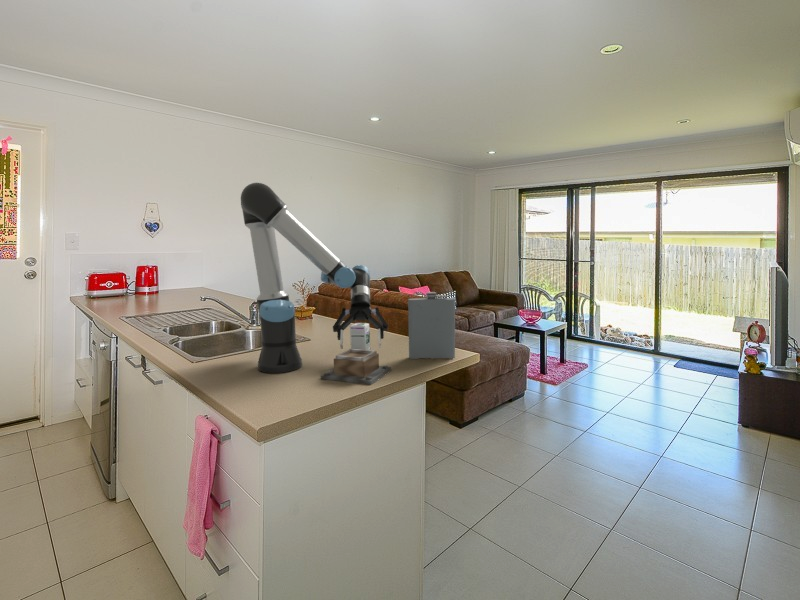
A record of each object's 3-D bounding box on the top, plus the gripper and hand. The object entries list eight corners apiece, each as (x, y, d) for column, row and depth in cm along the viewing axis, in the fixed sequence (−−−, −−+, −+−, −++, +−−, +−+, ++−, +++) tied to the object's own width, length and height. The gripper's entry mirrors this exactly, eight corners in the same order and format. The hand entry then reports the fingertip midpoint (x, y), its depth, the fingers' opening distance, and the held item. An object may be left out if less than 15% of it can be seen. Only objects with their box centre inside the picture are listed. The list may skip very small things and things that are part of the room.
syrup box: (366, 365, 152) (365, 325, 150) (350, 365, 153) (349, 325, 151) (371, 361, 158) (370, 322, 156) (355, 360, 159) (354, 322, 157)
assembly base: (320, 378, 137) (319, 357, 136) (344, 365, 152) (344, 346, 151) (371, 384, 131) (370, 361, 130) (391, 370, 146) (390, 349, 145)
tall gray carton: (454, 355, 164) (454, 291, 161) (455, 358, 160) (455, 292, 156) (409, 355, 165) (408, 291, 162) (408, 359, 160) (408, 293, 157)
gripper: (392, 304, 169) (395, 350, 156) (329, 306, 168) (326, 352, 155) (392, 292, 163) (395, 339, 150) (327, 294, 162) (324, 341, 149)
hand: (360, 346), depth 152 cm, fingers open, 13 cm apart
